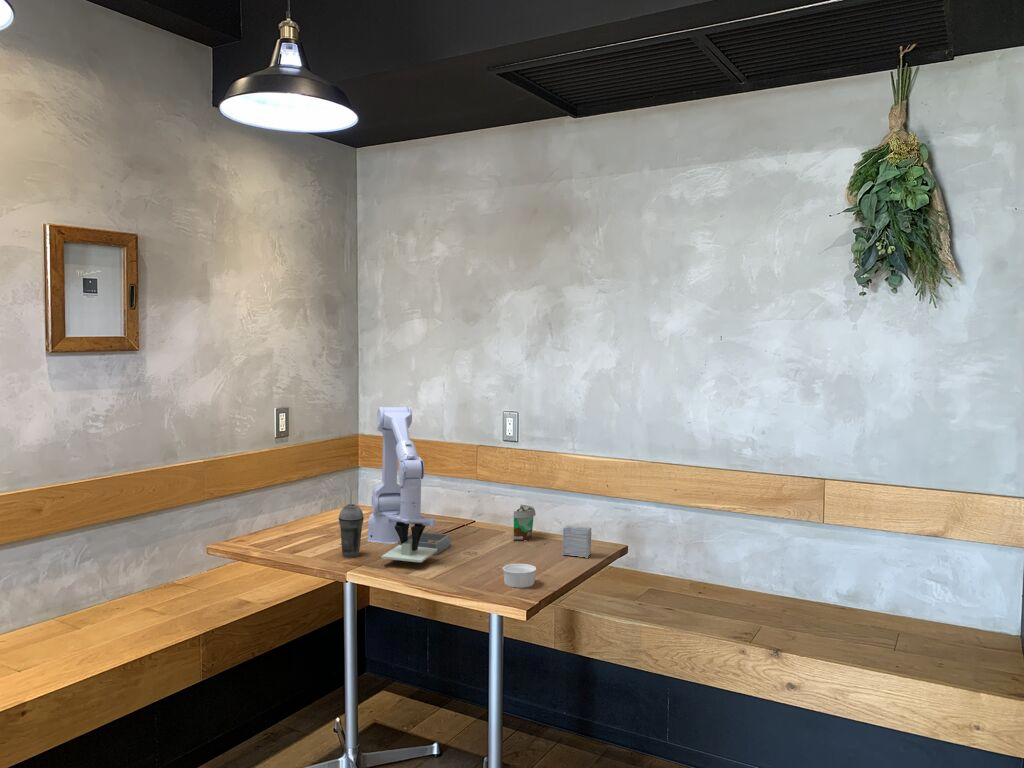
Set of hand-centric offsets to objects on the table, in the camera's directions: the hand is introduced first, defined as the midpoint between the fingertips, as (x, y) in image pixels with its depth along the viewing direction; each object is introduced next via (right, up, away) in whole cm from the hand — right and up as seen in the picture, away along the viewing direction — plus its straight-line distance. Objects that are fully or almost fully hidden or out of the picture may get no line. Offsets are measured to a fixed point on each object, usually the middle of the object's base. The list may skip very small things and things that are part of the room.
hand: (409, 549), depth 218 cm
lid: (0, -2, 0) cm, 2 cm away
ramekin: (+31, -6, -15) cm, 35 cm away
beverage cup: (-18, -4, +6) cm, 20 cm away
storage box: (+2, -4, +16) cm, 17 cm away
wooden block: (+5, -3, +17) cm, 18 cm away
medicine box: (+49, -5, +14) cm, 51 cm away
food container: (+33, -4, +34) cm, 48 cm away
